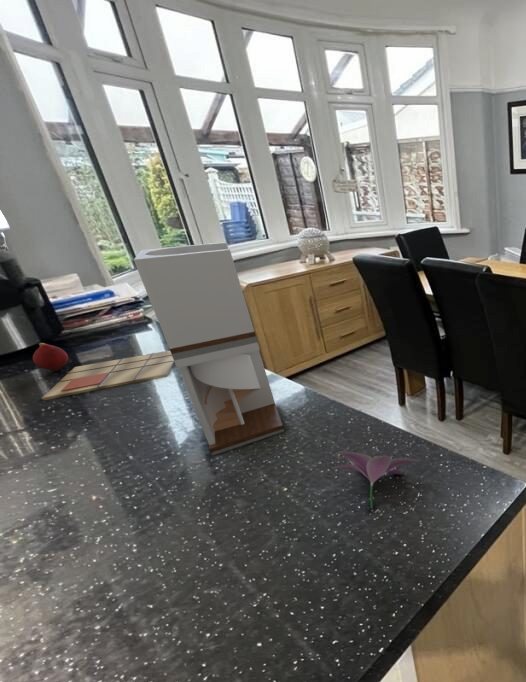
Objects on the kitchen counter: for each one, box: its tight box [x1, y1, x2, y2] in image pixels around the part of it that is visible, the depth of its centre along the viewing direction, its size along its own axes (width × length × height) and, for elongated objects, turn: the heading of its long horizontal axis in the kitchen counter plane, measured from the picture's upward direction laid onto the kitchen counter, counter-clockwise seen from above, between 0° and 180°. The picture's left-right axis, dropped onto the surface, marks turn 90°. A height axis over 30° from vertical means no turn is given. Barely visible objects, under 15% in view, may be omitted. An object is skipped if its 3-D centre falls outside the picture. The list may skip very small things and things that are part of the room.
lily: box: [331, 450, 422, 509], centre depth 59 cm, size 12×12×10 cm
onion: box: [32, 342, 69, 372], centre depth 101 cm, size 6×6×8 cm
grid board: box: [41, 350, 175, 401], centre depth 100 cm, size 22×18×2 cm
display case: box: [133, 241, 285, 456], centre depth 69 cm, size 11×11×35 cm
